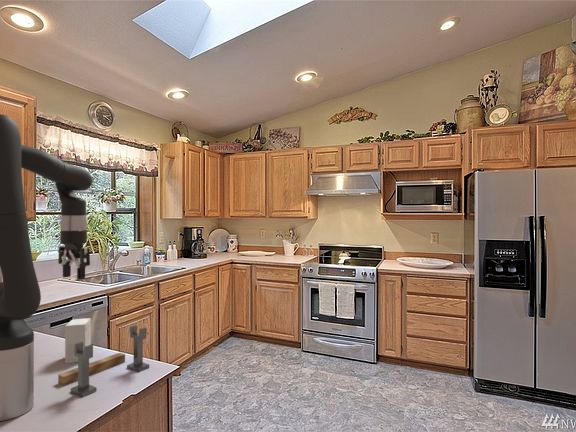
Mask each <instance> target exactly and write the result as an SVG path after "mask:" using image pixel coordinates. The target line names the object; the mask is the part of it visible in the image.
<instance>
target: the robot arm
mask: <svg viewBox="0 0 576 432" xmlns="http://www.w3.org/2000/svg"><path fill="white" fill-rule="evenodd" d="M23 169H24V170H27V171H29V172H31V173H33V174H36V175H38V176H40V177H42V178H44V179H46V180H48V181H50V182H54V183H55V186H56V187H55V188H56V191H57V193H58V197H59V200H60V205H61V207H60V208H61V212H60V215H61V216H60V224H59V225H60V231H59V232H60V238H59V239H60V241H59V242H60V244H61V246H58V261H57V262H58V264H59V265H61V267H62V277H63V278H70V277H71V274H72V271H71V270H72V269H71V267H72V266H71V264H72V262H73V263H74V264H75V265H76V279H77V280H79V281H80V280H85V278H86V267H87V266H90V265H91V260H90V259H91V257H90V250H91V249H90V247H87V246H85V247H84V244H87V242H88V221H87V201H86V200H85V199H84V198H81V197H77V196H76V195H75V193H74V192H75V191H85V190H86V191H87V190H88V189H90V188H91V186H92V184H93V178H92V175H91V173H89V171H88V170H86V169H84V168H83V167H81V166H77V165H74V164H72V163H67V162H65V161H63V160H62V159H60V158H58V157H56V156H54V155H53V154H51V153H49V152H46V151H45V150H42V149H38V148H34V147H31V146H26V145H24V144H22V137H21V132H20V130H19V126H18V125H17V123H16V122H15V120H13V118H11V117H10V116H8V115H6V114H0V271H1V277H2V281H0V422H1V421H7V420H11V419H15V418H17V417H20V416H22V415H24V414H26V413H27V412H29V411H31V410H32V409H33V407H34V405H35V404H34V403H35V401H34V399H35V395H34V394H35V393H34V392H35V391H34V390H35V389H34V385H35V382H34V381H35V380H34V379H35V377H34V375H35V374H34V373H35V372H34V369H35V365H34V364H35V363H34V362H35V361H34V360H35V358H34V357H35V356H34V354H35V346H34V345H35V333H34V330H33V329H32V328H31V327H30V326H29V325H28V324H27V323H26V321H25V320H27V319H30V318H31V317H32V316H33V315H34V314H35V313H36V312H37V311H38V309H39V307H40V305H41V299H42V295H41V289H40V285H39V280H38V277H37V273H36V269H35V266H34V259H33V254H32V248H31V241H30V235H29V223H28V217H27V216H28V215H27V214H28V213H27V208H26V205H25V204H26V201H25V196H24V187H23V186H24V184H23V175H22V174H23V173H22V172H23V171H22V170H23ZM62 245H63V246H62Z"/></svg>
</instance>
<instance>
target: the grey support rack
mask: <svg viewBox="0 0 576 432" xmlns="http://www.w3.org/2000/svg"><path fill="white" fill-rule="evenodd" d="M138 330H139V332H138ZM129 338H132V339H133V362H131V363H129V364H127V365H126V369H128V370H131V371H134V372H137V373H139V372H143V371H144V370H146V369H147V370H148V369H149V368H150V364H149V363H146V362H144V361H143V359H144V357H143V355H144V354H143V351H144V350H143V349H144V345H143V344H144V343H143V341H144V340H146V339H147V327H145V326H144V327H141V328H139V329H138V325H137V324H134V325H131V326H129ZM74 356H76V357H78V362H77V368H78V380H77V385H76V386H74V387H71V388H70V393H73V394H74V395H77V396H79V397H82V398H84V397H87V396H88V395H91V394H93V393H95V392H97V390H98V389H97V386H94V385H91V384H90V376H89V363H90V359H92V358H94V344H91V345H88V346H85V347H84V351H83V342H78V343H75V344H74Z"/></svg>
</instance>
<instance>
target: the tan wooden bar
mask: <svg viewBox="0 0 576 432" xmlns="http://www.w3.org/2000/svg"><path fill="white" fill-rule="evenodd" d="M123 363H126V353H123V352H118V353H115V354H112V355H109V356H106V357H104V358H101V359H97V360H95V361H93V362H89V377H91V376H93V375H95V374H98V373H100V372H103V371H105V370H108V369H110V367H111V368H113V367H115V366H118V365H121V364H123ZM57 376H58V378H57V379H58V382H57V383H58V384H59V385H60V386H63V387H64V386H66V385H69V384H72V383H74V382H78V367H77V368H73V369H71V370H67V371H64V372H62V373H60V374H58V375H57Z"/></svg>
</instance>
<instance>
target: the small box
mask: <svg viewBox="0 0 576 432" xmlns="http://www.w3.org/2000/svg"><path fill="white" fill-rule="evenodd" d="M91 321H92V318H90V317H88V318H87V317H86V318H77V319H75V318H74V319H71V320H69V322H68V323H67V324H65V325H64V335H65V336H64V340H65V341H64V345H65V346H64V352H65V354H64V355H65V356H64V358H65V361H64V363H65V364H71V363H78V357H76V356H74V344H75V343H78V342H83V351H84V347H85V346H88V345H92V344H91V342H92V341H91V340H92V339H91V338H92V337H91V336H92V334H91V333H92V332H91V331H92V326H91V325H92V322H91Z"/></svg>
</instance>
